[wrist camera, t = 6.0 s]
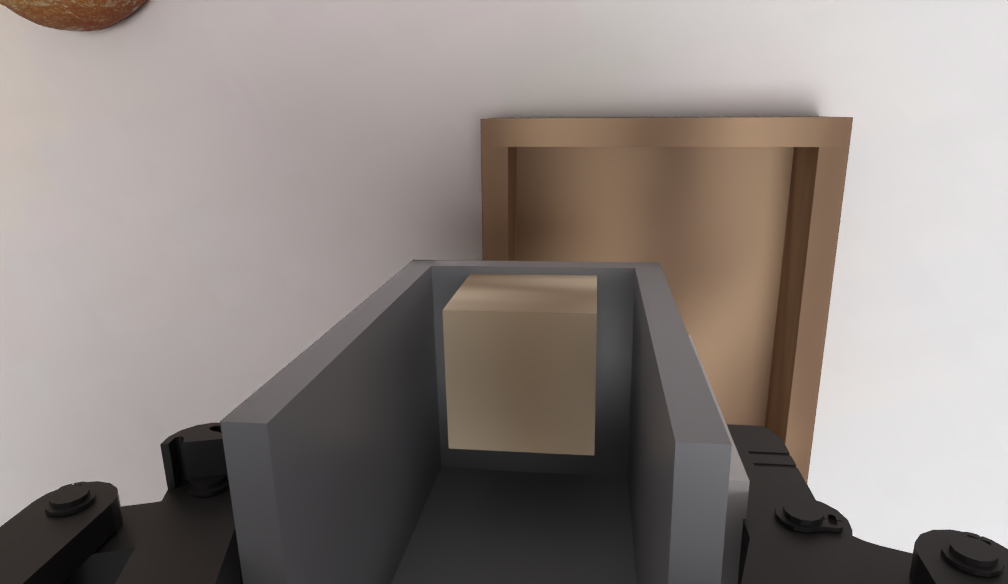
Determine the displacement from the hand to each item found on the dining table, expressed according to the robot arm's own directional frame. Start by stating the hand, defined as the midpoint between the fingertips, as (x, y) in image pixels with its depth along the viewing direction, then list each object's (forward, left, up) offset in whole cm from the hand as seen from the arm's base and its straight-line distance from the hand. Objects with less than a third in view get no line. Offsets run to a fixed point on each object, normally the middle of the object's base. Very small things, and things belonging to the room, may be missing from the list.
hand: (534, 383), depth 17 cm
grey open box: (0, 0, 0) cm, 0 cm away
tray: (+4, -1, -13) cm, 14 cm away
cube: (0, +1, 0) cm, 1 cm away
